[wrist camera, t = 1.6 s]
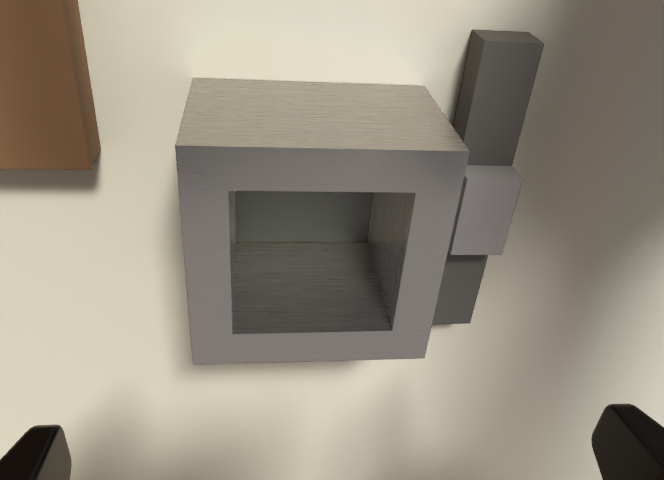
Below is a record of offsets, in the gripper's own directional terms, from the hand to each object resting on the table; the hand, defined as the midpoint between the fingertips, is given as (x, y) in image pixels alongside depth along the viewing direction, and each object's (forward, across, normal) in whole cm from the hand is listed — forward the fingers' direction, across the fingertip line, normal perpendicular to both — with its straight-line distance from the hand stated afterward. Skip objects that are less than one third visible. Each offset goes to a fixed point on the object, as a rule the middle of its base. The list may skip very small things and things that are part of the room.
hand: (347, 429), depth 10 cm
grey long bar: (+9, -5, 0) cm, 10 cm away
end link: (+9, 0, 0) cm, 9 cm away
